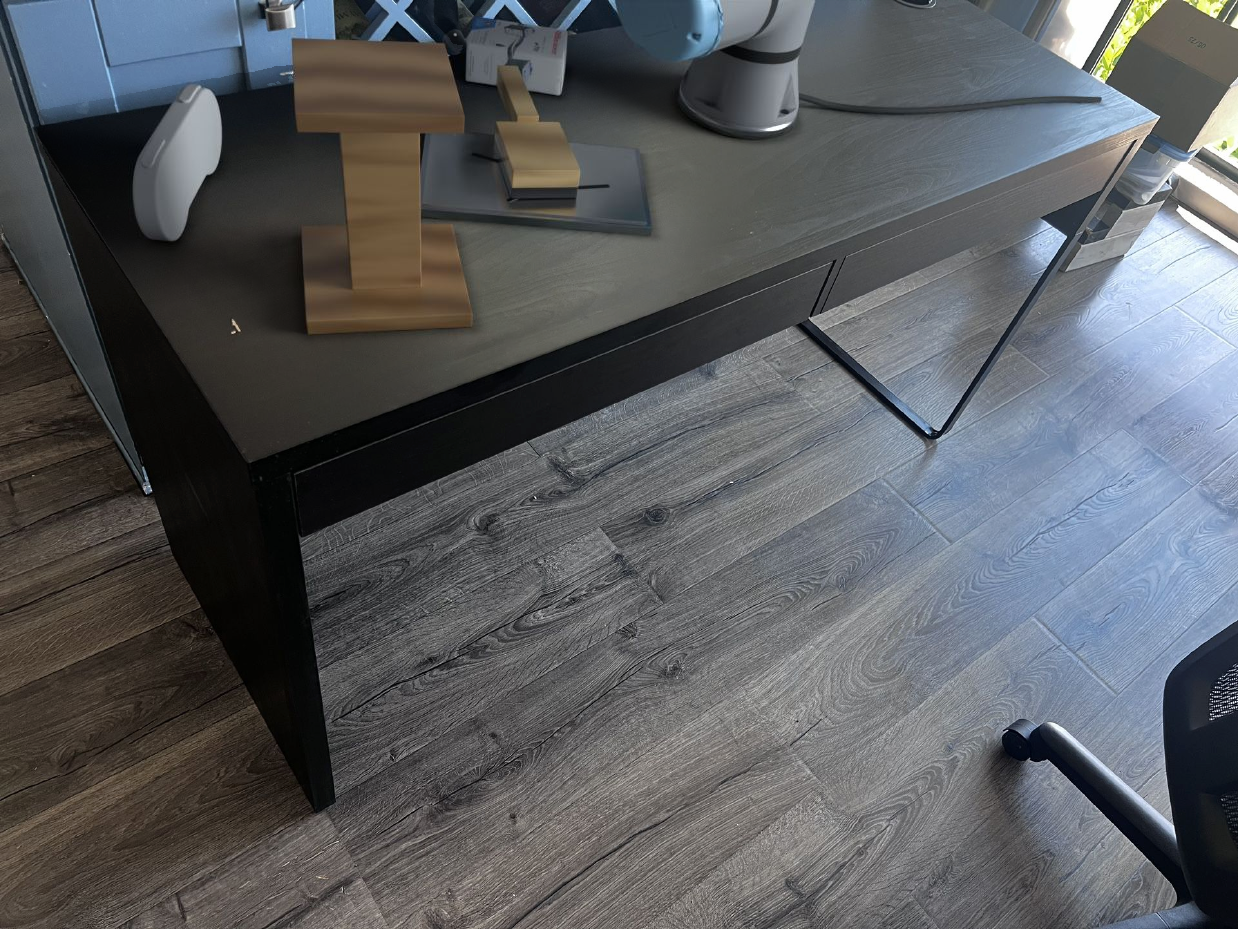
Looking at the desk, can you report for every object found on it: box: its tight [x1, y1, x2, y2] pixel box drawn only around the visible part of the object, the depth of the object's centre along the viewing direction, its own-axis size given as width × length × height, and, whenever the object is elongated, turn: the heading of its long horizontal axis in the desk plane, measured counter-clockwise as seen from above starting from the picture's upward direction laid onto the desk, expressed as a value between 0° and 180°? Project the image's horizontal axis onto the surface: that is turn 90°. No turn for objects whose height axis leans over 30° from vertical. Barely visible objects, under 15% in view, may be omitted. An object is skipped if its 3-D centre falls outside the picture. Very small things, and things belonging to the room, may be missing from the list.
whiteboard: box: [420, 131, 654, 237], centre depth 101 cm, size 24×16×1 cm, turn 94°
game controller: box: [132, 83, 223, 242], centre depth 88 cm, size 20×2×8 cm, turn 1°
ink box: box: [465, 15, 569, 96], centre depth 116 cm, size 9×5×12 cm
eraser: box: [494, 65, 580, 198], centre depth 103 cm, size 22×7×4 cm, turn 15°
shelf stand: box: [291, 37, 473, 335], centre depth 79 cm, size 14×14×20 cm
